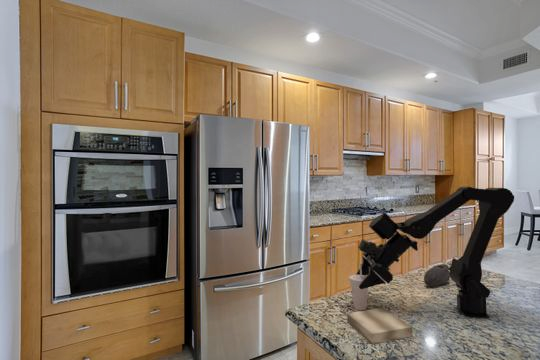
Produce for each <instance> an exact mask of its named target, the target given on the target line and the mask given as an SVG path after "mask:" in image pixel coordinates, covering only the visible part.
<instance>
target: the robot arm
mask: <svg viewBox="0 0 540 360" xmlns="http://www.w3.org/2000/svg"><path fill="white" fill-rule="evenodd" d="M469 201H477V202H478V210H479V213H478V217H477V218H476V222H475V224H474V227H473V228H472V232H471V234H470V237H469V239H468V242H467V244H466V247H465V248H464V249H465V250H464V251H463V255H462V256H460V257H459V258H458V259H456V258H454V257H453V258H452V260H451V264H450V266H449V268H448V270H449V276H450V278H449V279H450V280H451V281H453V282H454V283H455V285H456V288H458V294H456V308H457V309H458V310H459V311H460V312H461V313H462V314H463V316H465V317H474V318H476V317H477V318H490V315H489V314H488V313H487V298H489V297H490V294H491V290H490V289H489V288H488V287H487V286H485V284H483V283H482V282H481V281H482V277H483V269H482V261H483V258H484V255H486V254H485V253H486V251H487V248H488V246H489V243H490V241H491V239H492V236H493V234H494V232H495V228H496V226H497V223H498V221H499V220H500V218H501V217H502V216H504V215H505V214H506V213H507V212H508V211H509V209H510V208H511V207H512V205H513V204H514V201H515V195H514V193H513V192H512V191H511V190H510V189H508V188H506V187H486V188H477V187H472V186H461V187H458V188H457V189H456V190H455V191H454V192H452V193H451V194H449V195H448V196H447V197H445V198H443V199H442V200H441V201H440V202H438V203H436V204H435V205H434V206H432V207H431V208H429V209H428V210H425V211H424V212H422V213H419V214H416V215H413V216H411V217H408V218H407V219H406V220H404V221H401V222H395V221H394V220H393V219H392V218H391V217H390V216H389V215H388V214H387V213H386V212H382V213H381V214H380V215H378V216H377V217H375V218H373V219H372V220H371V222H370V223H369V225H368V227H369V228H370V229H371V230H372V231H373V232H374V233H375V234H376V235H377V236H378V237H379V238H380V239H381V240H385V239H386V240H387V241H386V242H385V243H384V244H383V243H379V244H378V245H377V244H376V242H372V241H368V240H366V239H363V238H362V239H361V241H360V242H359V245H358V247H357V248H358V249H359V251H360V252H363V253H362V256H361V258H362V260H361V261H362V263H361V264H362V275H364V276H366V277H365V279H364V280H363V281H362V282H361V284H360V285H359V288H360V289H365V288H368V289H369V288H371V287H375V286H379V285H385V284H390V283H391V282H392V281H393V280H394V278H393V277H394V274H392V272H391V271H390V268H389V267H391V266H392V264H394V263H395V262H396V263H399V261H400V259H399V258H400V257H402V255H403V254H404V253H406V252H407V250H409V249H410V248H411V249H413V251H417V252H418V251H419V247H418V241H417V239H418V240H423V239H424V238H426V237H427V236H428V235H429V234H430V232H432V231H433V230H434V228H435V226H436V225H437V224H438V223H439V222H440V221H442V220H443V219H446V217H447V216H449V215H451V214H452V213H453V212H455V211H456V210H457V209H458V210H459V208H461V207H462V206H464V205H465V204H466V203H469ZM399 231H400V232H402V233H403V234H401V233H400V232H399ZM410 237H411V238H413V239H416V240H412V239H411V238H410ZM355 275H360V267H359V269H358V270H357V272H356V274H355Z"/></svg>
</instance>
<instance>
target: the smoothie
mask: <svg viewBox="0 0 540 360" xmlns="http://www.w3.org/2000/svg"><path fill="white" fill-rule="evenodd" d="M359 268H360V275H356V274H351V275H349V277H348V280H349V281H350V282H349V281H348V282H349V283H350V288H351V294H352V295H351V296H352V302H353V307H354V309H355V310H357V309H358V311H365V310H367V302H368V294H369V293H368V291H369V287H368V288H365V289H360V288H359V285H360V284H361V282H362V281H363V280H364V279H365V277H366V276H367V275H366V276H364V275H362V263H359Z"/></svg>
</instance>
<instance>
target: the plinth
mask: <svg viewBox="0 0 540 360" xmlns="http://www.w3.org/2000/svg"><path fill="white" fill-rule="evenodd" d="M346 314H347V315H346V317H347V319H346V321H347V323H348V324H349V325H350V326H351V327H352V328H353V329H355V330H356V332H358V333H359V334H360V335H362V336H363V337H364V338H365V339H366V340H367V341H368V342H369V343H371V344H372V345H374V344H381V343H385V342H390V341H396V340H402V339H405V338H411V337H413V326H412V325H411V324H408V323H407V322H405V321H404V320H402V319H401V318H400V317H397V316H396V315H395V314H393V313H392V312H391V311H388V310H387V309H385V308H384V307H380V308H374V309H368V310H367V309H365V310H358V311H353V312H348V313H346Z"/></svg>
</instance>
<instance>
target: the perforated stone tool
mask: <svg viewBox="0 0 540 360" xmlns="http://www.w3.org/2000/svg"><path fill="white" fill-rule="evenodd" d="M449 267H450V266H449V265H448V264H445V263H442V264H441V263H440V264H437V265H434V266H433V267H430V268H429V269H428V270H426V272H425V274H424V276H423V281H424V284H425V285H426V286H427V287H431V288H432V287H437V286H441V285H442V286H443V285H444V284H446V283H448V282H449V281H450V279H451V278H450V276H449V272H450V270H448V268H449Z"/></svg>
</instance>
